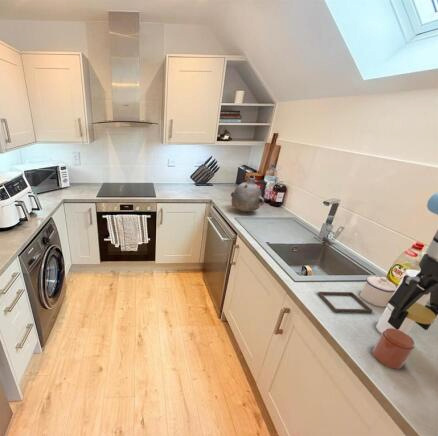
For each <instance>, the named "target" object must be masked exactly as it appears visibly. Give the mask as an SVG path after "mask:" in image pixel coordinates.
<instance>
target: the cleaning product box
mask: <svg viewBox="0 0 438 436" xmlns="http://www.w3.org/2000/svg"><path fill="white" fill-rule="evenodd" d="M247 180H248V179H243V180H242V183H244V182H246V181H247ZM267 183H268V182H267V181H266V180H263V179H255V184H256V185H258V186H259V188H260V190H261V195H262V198H263V199H265V198H264V197H265V193H266V188H267V185H268V184H267ZM261 203H262V200H261Z"/></svg>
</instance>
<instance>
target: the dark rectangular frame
mask: <svg viewBox="0 0 438 436" xmlns="http://www.w3.org/2000/svg"><path fill="white" fill-rule="evenodd" d="M317 295H318V296H319V297H320V298H321V299H322V300H323V302H325V304H326V305H327V306H328V307H329V308H330V309H331V310H332V311H333V313H365V314H366V313H367V314H372V313H373V309H372V308H371V307H370V306H369V305H367V304H366V303H365V302H364V301H363V300H361V298H360V297H358V295H356V294H355V293H354V292H351V291H349V292H348V291H318V292H317ZM325 296H351V297H352V298H353V300H355V301H356V302H357V303H358V304H360V305H361V306H362V307H363V308H336V307H335V306H334V305H333V304H332V303H331V302H330V300H329V299H327V298H326V297H325Z"/></svg>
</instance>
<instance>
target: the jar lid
mask: <svg viewBox="0 0 438 436" xmlns="http://www.w3.org/2000/svg"><path fill="white" fill-rule="evenodd" d="M406 311H408V312H409V313H408V314H407V316H406V317H407V318H409V319H411V320H413V321H415V322H418V323H422V324H431V325H432V324H434V322H435V321H436V319H437V317H436V315H435V313H434V312H433V311H431V310H430V309H429V308H427V307H425V306H423V305H421V304H419V303H416V302H415V303H414V304H413V305H412V306H411V307H410V308H408V309H407V310H406ZM415 322H414V323H415Z"/></svg>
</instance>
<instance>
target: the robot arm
mask: <svg viewBox="0 0 438 436" xmlns="http://www.w3.org/2000/svg"><path fill="white" fill-rule="evenodd" d="M426 207H427V210H428V211H429V212H430V213H433V214H435V215H437V216H438V191H437V192H435V193H433V194H432V195H431V196H430V197H429V198H428V200H427V204H426ZM418 266H419V269H420V270H419V271H420V272H419V273H418V274H417V275H416V276H415V277H410V276H408V275H405V276H404V277H403V276H402V277H403V281H402V283H401V285H400V286H399V288H398V289H397V290H396V292H395V293H394V295H393V296H392V297H391V299H390V300H389V302H388V303H389V304H390V305H392V306H393V307H394V309H393V311H392V313H391V316H390V318H389V320H388V323H389V324H390V325H392V326H393V327H394V328H395V329H399V328H400V326H401V325H402V323H403V321H404V320H405V318H406V316H407V314H408V313H409V312H408V311H406V310H407V309H408V308H410V307H411V306H412V305H413V304H414V303H415V302H416V301H417V300H418V299H420V298H421V297H422V296H423V295H427V294H429V293H430V298H429V303H428V304H425V307H427V308H429V309H430V310H431V311H433V312H434V313H435V315H436V318H437V317H438V229H437V230H436V232H435V234H434V236H433V237H432V240H431V241H430V244H429V245H428V246H427V249H426V251H425V253H424V254H423V255H422V257H421V259H420V261H419V262H418ZM418 285H419V286H420V287H421V288H423V289H425V290H423V289H421V288H420V287H418ZM415 323H416V324H417V325H418V326H419V327H421V329H423V330H424V331H428V330H429V328H430V327H431V325H432V324H422V323H418V322H414V324H415Z"/></svg>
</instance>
